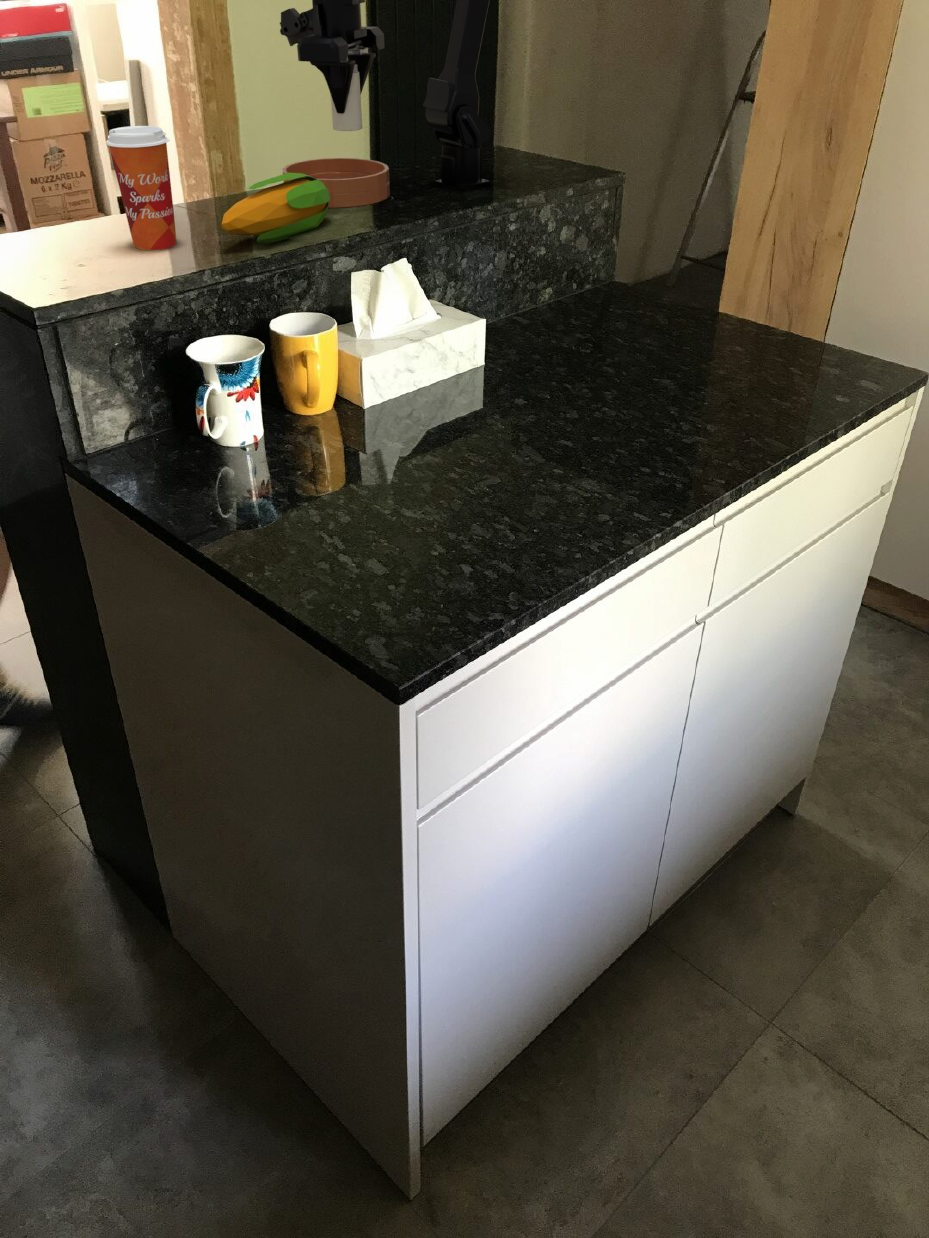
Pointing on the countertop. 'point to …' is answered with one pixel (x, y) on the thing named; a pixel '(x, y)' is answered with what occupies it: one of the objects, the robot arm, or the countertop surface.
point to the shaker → (349, 107)
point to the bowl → (347, 179)
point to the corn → (279, 208)
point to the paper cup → (144, 184)
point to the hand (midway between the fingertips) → (346, 110)
